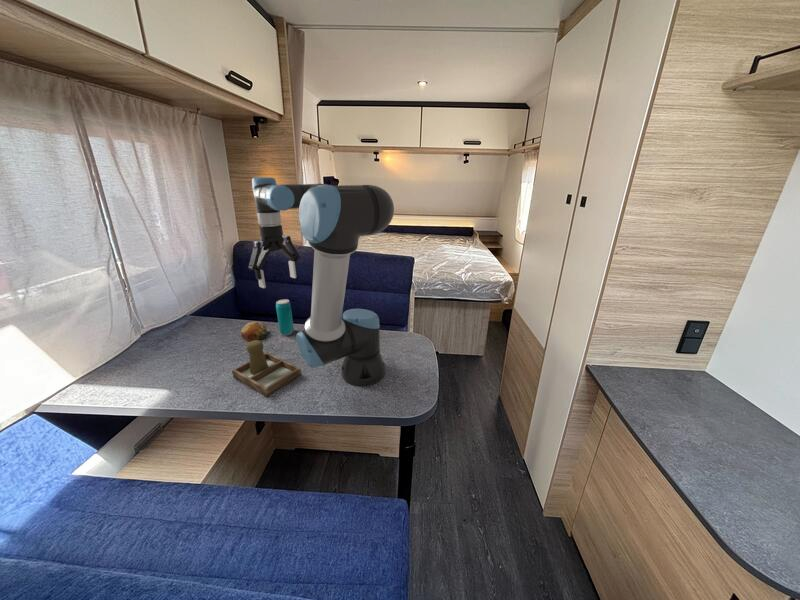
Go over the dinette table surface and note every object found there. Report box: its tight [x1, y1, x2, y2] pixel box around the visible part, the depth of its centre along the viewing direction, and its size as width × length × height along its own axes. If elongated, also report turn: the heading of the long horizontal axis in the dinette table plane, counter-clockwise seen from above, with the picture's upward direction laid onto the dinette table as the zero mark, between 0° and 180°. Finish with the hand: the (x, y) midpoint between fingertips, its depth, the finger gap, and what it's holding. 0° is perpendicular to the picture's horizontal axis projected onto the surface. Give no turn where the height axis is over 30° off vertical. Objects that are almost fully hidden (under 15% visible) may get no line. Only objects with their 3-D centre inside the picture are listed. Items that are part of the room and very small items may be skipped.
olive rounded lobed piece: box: [246, 339, 268, 375], centre depth 107 cm, size 6×6×11 cm
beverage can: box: [275, 298, 294, 337], centre depth 133 cm, size 6×6×15 cm
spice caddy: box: [231, 351, 302, 398], centre depth 107 cm, size 18×14×3 cm
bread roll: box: [240, 321, 268, 342], centre depth 133 cm, size 10×10×8 cm
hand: (278, 282), depth 117 cm, fingers open, 13 cm apart
